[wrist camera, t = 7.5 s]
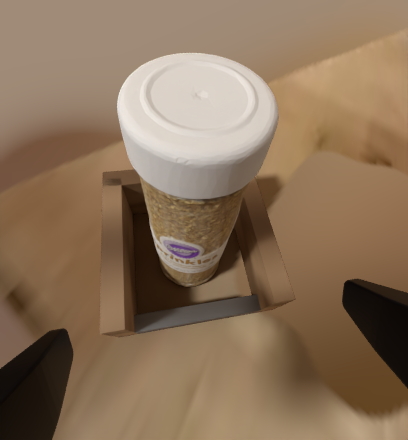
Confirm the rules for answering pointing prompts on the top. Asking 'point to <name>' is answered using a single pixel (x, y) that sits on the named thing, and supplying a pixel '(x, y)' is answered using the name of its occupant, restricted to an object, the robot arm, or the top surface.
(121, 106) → the sprinkles bottle
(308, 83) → the top surface
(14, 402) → the robot arm
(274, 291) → the cradle
